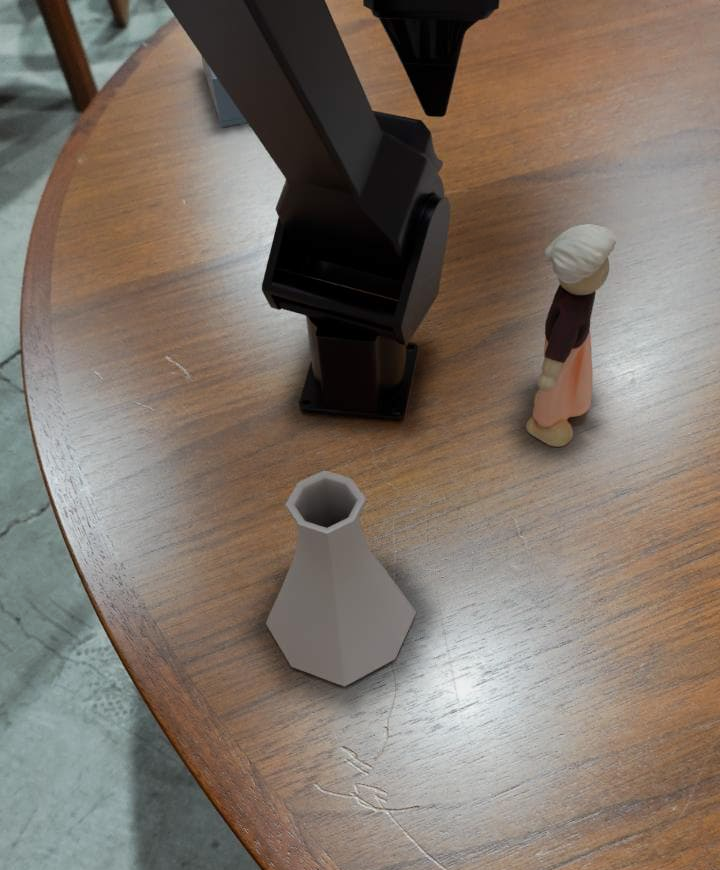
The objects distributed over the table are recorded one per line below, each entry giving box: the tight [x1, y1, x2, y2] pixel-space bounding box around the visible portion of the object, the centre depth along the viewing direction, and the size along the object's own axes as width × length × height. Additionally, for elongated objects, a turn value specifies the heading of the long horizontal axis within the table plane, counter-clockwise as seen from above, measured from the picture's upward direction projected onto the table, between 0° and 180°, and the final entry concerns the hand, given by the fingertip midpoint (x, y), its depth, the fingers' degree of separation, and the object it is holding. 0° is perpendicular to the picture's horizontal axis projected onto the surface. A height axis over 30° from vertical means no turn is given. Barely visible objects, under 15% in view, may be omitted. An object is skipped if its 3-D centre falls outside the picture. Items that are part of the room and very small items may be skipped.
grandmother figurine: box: [525, 223, 616, 448], centre depth 48 cm, size 8×4×13 cm, turn 171°
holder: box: [200, 54, 248, 128], centre depth 74 cm, size 9×7×4 cm
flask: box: [265, 469, 417, 687], centre depth 42 cm, size 7×7×10 cm
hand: (443, 72), depth 51 cm, fingers open, 9 cm apart
